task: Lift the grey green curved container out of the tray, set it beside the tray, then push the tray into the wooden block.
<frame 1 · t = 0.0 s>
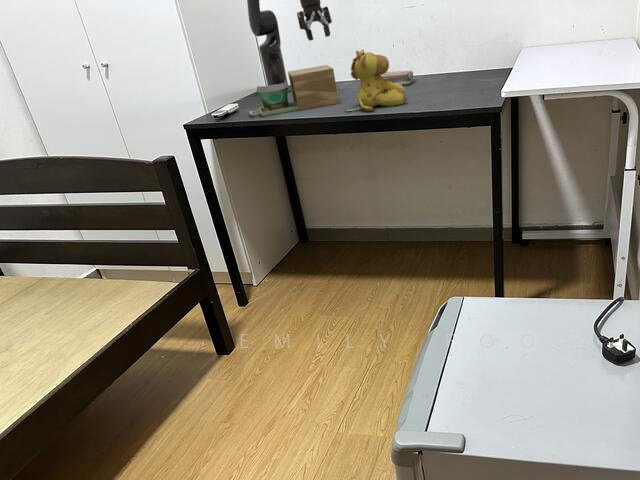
hand: (319, 38, 219), 22 cm above the table, tool pointing down, fingers open, 8 cm apart
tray: (274, 109, 218), point 1 cm above the table, slide at 14.3 cm
giraffe plush: (378, 104, 208), on the table
packaged product: (392, 84, 240), on the table
wooden block: (316, 104, 221), on the table
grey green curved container: (279, 111, 218), resting in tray
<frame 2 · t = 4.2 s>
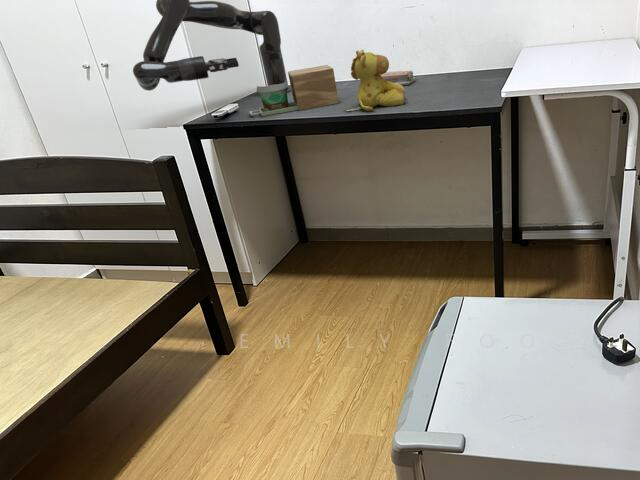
hand: (237, 61, 206), 20 cm above the table, tool horizontal, fingers open, 8 cm apart
nothing on the table moved.
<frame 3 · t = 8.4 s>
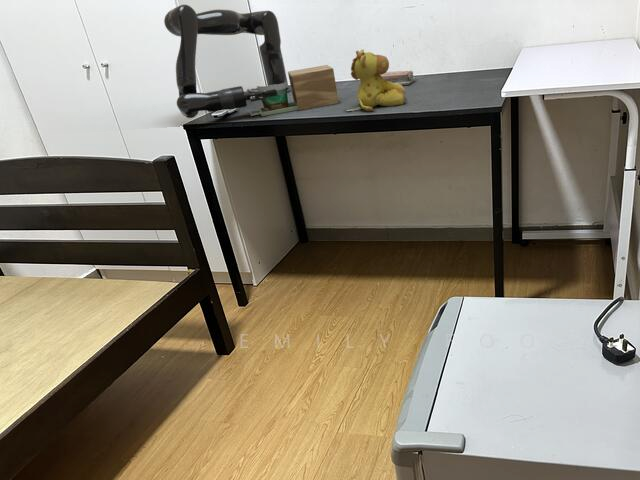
hand: (275, 90, 215), 8 cm above the table, tool horizontal, fingers closed on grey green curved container, 6 cm apart
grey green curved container: (279, 111, 218), resting in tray, touching gripper
everything else where it was.
when the fingers open (8 cm above the table, at t = 15.7 s): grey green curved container stays where it is, on the table.
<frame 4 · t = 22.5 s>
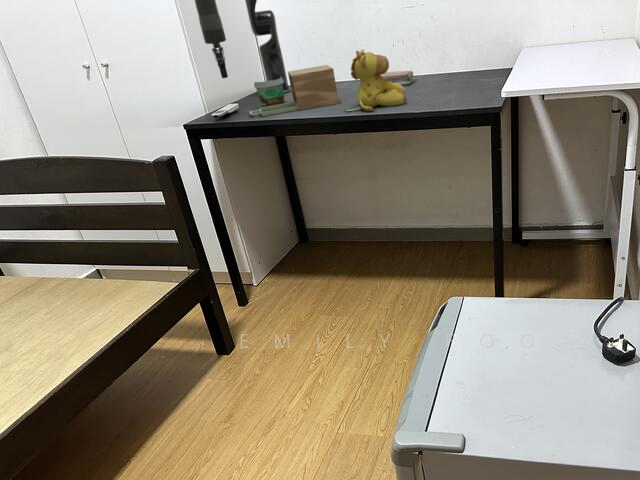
hand: (224, 76, 207), 16 cm above the table, tool pointing down, fingers open, 7 cm apart
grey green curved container: (275, 106, 228), on the table
everything else where it was.
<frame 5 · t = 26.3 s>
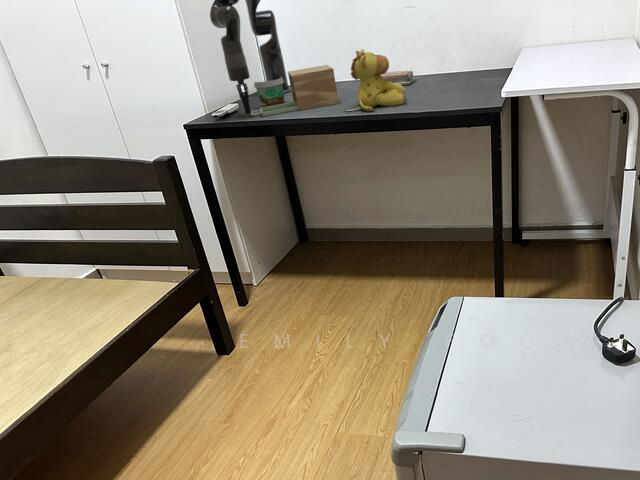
hand: (248, 113, 216), 1 cm above the table, tool pointing down, fingers closed
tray: (274, 109, 218), point 1 cm above the table, slide at 14.0 cm, touching gripper
everything else where it was.
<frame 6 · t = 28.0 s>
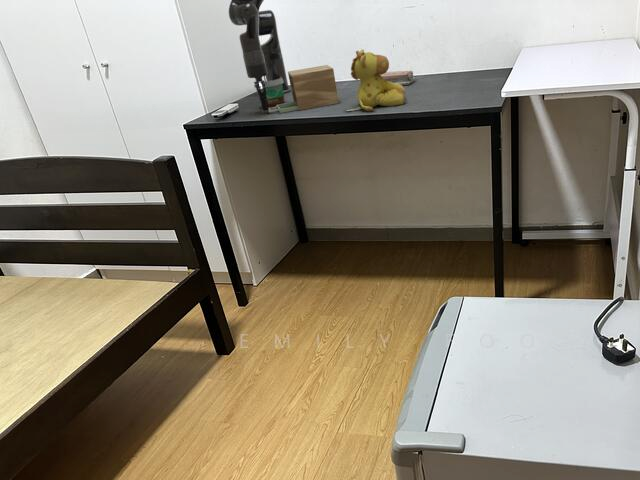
hand: (265, 110, 217), 1 cm above the table, tool pointing down, fingers closed
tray: (291, 106, 219), point 1 cm above the table, slide at 7.2 cm, touching gripper
everything else where it was.
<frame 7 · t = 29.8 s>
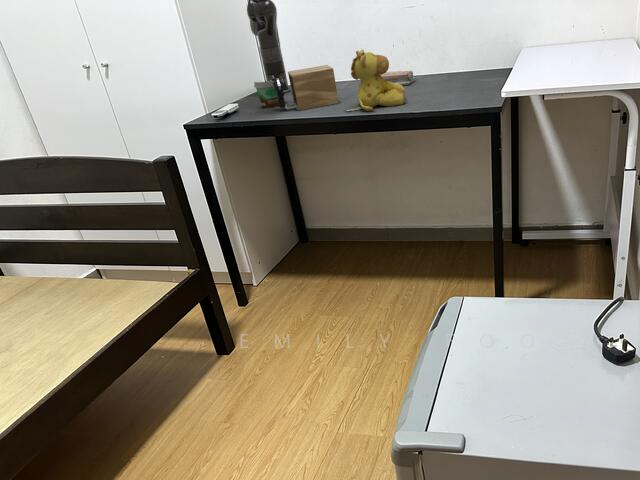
hand: (282, 107, 218), 1 cm above the table, tool pointing down, fingers closed
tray: (308, 103, 220), point 1 cm above the table, slide at 0.5 cm, touching gripper
everything else where it was.
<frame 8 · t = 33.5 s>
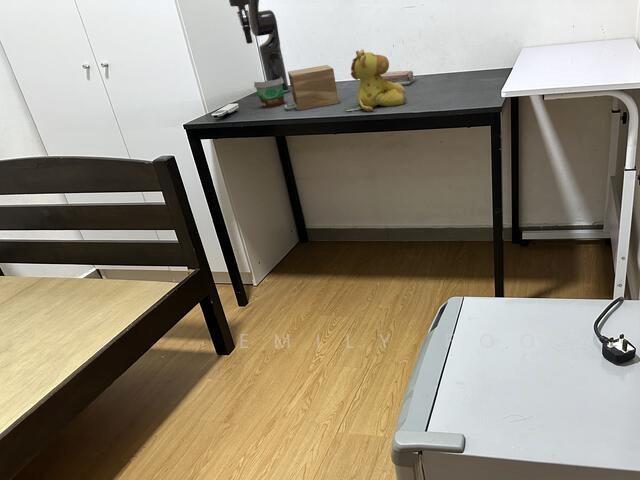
hand: (249, 43, 207), 25 cm above the table, tool pointing down, fingers closed
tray: (308, 103, 220), point 1 cm above the table, slide at 0.5 cm
everything else where it was.
at the end: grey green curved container inside the target area (1.9 cm from its centre), on the table; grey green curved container tilted 0°; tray slide at 0.5 cm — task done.
